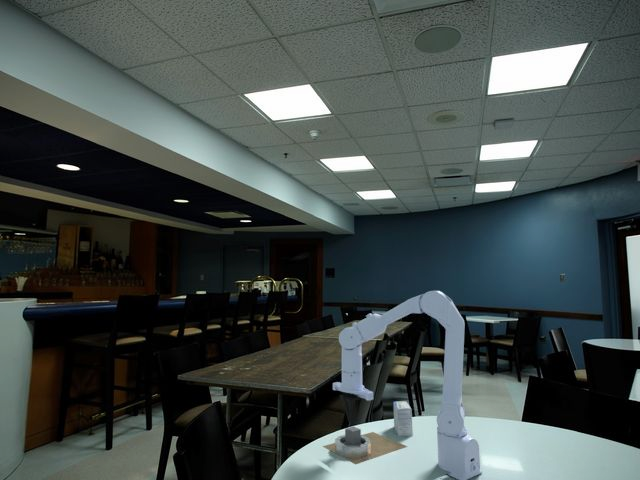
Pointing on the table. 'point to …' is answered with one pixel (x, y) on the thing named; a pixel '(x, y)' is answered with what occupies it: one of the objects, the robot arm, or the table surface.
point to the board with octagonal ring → (364, 447)
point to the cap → (353, 436)
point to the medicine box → (403, 418)
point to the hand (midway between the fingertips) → (352, 421)
